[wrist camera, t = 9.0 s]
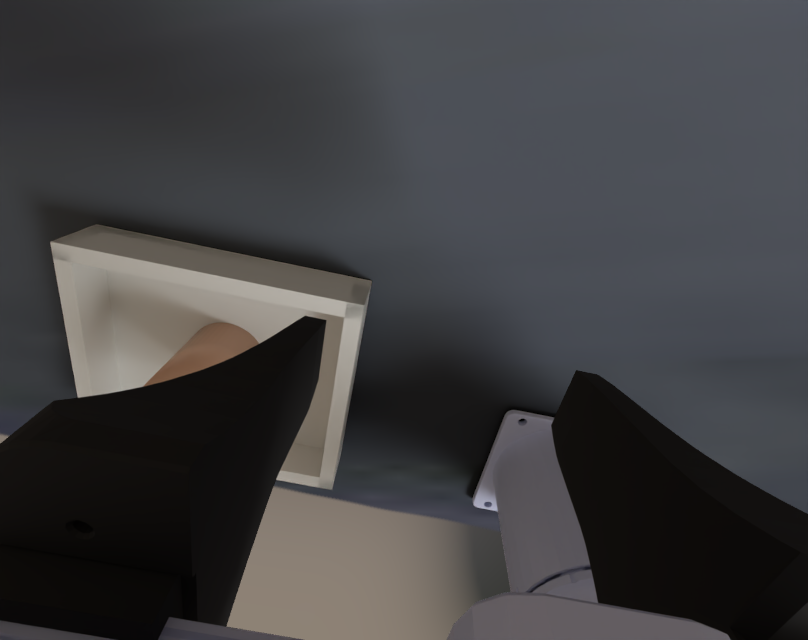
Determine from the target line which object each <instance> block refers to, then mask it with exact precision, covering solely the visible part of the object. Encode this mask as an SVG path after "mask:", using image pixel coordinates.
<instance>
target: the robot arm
mask: <svg viewBox="0 0 808 640" xmlns="http://www.w3.org/2000/svg"><path fill="white" fill-rule="evenodd" d="M326 321H327V320H324V319H319V318H314V317H309V316H304V317H302V318H300V319H299V320H297V321H295V322H294V323H292V324H291V325H289V326H288V327H286V328H284V329H283V330H281V331H280V332H278V333H277V334H275V335H273V336H272V337H270V338H268V339H267V340H265V341H263V342H262V343H260V344H258V345H256V346H254V347H252V348H250V349H248V350H246V351H244V352H242V353H240V354H239V355H237V356H234V357H232V358H230V359H228V360H225V361H223V362H221V363H218V364H216V365H213V366H210V367H208V368H205V369H203V370H200V371H197V372H193V373H190V374H187V375H184V376H180V377H177V378H174V379H171V380H167V381H164V382H160V383H156V384H152V385H148V386H143V387H139V388H134V389H129V390H124V391H119V392H113V393H108V394H101V395H94V396H87V397H80V398H73V399H65V400H56V401H53V402H52V403H51V404H49V405H48V406H47V407H45V408H44V409H43V410H42V411H40V412H39V413H38V414H37V415H35V416H34V417H33V418H32V419H30V420H29V421H28V422H27V423H25V424H24V425H23V426H22V427H20V428H19V429H18V430H17V431H15V432H14V433H13V434H12V435H10V436H9V437H8V438H7V439H6V440H5V441H3V442H2V443H1V444H0V640H302V639H296V638H290V637H284V636H279V635H273V634H267V633H261V632H255V631H249V630H243V629H237V628H231V627H226V626H227V622H228V619H229V616H230V613H231V610H232V606H233V603H234V600H235V597H236V594H237V591H238V588H239V585H240V582H241V579H242V576H243V573H244V570H245V567H246V563H247V560H248V558H249V555H250V552H251V548H252V546H253V543H254V540H255V537H256V534H257V531H258V528H259V525H260V522H261V519H262V517H263V514H264V511H265V508H266V505H267V502H268V499H269V497H270V494H271V491H272V488H273V486H274V484H275V481H276V479H277V476H278V474H279V472H280V470H281V468H282V465H283V463H284V461H285V459H286V457H287V455H288V453H289V451H290V449H291V447H292V444H293V442H294V440H295V438H296V436H297V434H298V432H299V430H300V428H301V426H302V423H303V421H304V419H305V417H306V415H307V413H308V410H309V408H310V405H311V402H312V399H313V396H314V393H315V390H316V386H317V383H318V380H319V373H320V365H321V358H322V350H323V343H324V336H325V328H326ZM520 419H525V420H524V421H519V420H520ZM472 500H473V504H474V506H476V507H478V508H483V509H488V510H494V511H498V516H499V522H500V528H501V534H502V540H503V547H504V553H505V559H506V565H507V570H508V577H509V583H510V589H511V592H505V593H502V594H499V595H496V596H493V597H490V598H487V599H484V600H481V601H477V602H476V603H475V604H473V606H472V607H471V608H470V609H468V610H467V612H465V613H464V614H463V616H461V617H460V618H459V619H458V621H457V622H456V623H454V625H453V627H452V629H451V631H450V634H449V636H448V638H447V640H808V514H807V513H805V512H803V511H801V510H799V509H797V508H795V507H793V506H791V505H789V504H787V503H785V502H783V501H781V500H780V499H778V498H776V497H774V496H772V495H771V494H769V493H767V492H765V491H763V490H762V489H760V488H758V487H756V486H754V485H753V484H751V483H749V482H747V481H746V480H744V479H742V478H741V477H739V476H737V475H736V474H734V473H732V472H731V471H729V470H728V469H726V468H725V467H723V466H721V465H720V464H718V463H717V462H715V461H714V460H712V459H711V458H709V457H707V456H706V455H704V454H703V453H702V452H700V451H699V450H697V449H696V448H694V447H693V446H691V445H690V444H689V443H687V442H686V441H685V440H683V439H682V438H680V437H679V436H678V435H676V434H675V433H674V432H672V431H671V430H670V429H668V428H667V427H666V426H664V425H663V424H662V423H660V422H659V421H658V420H657V419H655V418H654V417H653V416H651V415H650V414H649V413H648V412H646V411H645V410H644V409H643V408H641V407H640V406H639V405H638V404H636V403H635V402H634V401H633V400H631V399H630V398H629V397H628V396H626V395H625V394H624V393H622V392H621V391H620V390H619V389H617V388H616V387H615V386H613V385H612V384H611V383H609V382H608V381H606V380H605V379H604V378H602V377H600V376H599V375H597V374H592V373H587V372H582V371H577V370H576V372H575V374H574V376H573V378H572V381H571V383H570V385H569V387H568V389H567V392H566V394H565V396H564V398H563V400H562V402H561V405H560V407H559V409H558V411H557V413H556V416H555V418H554V417H549V416H544V415H539V414H534V413H529V412H523V411H518V410H510V411H508V412H507V413H506V414H505V416H504V418H503V421H502V423H501V426H500V429H499V431H498V434H497V436H496V439H495V441H494V444H493V446H492V449H491V452H490V454H489V457H488V459H487V462H486V464H485V467H484V470H483V472H482V475H481V477H480V480H479V482H478V485H477V487H476V490H475V493H474V495H473V499H472Z"/></svg>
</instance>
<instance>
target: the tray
mask: <svg viewBox="0 0 808 640" xmlns="http://www.w3.org/2000/svg"><path fill="white" fill-rule="evenodd" d="M50 244H51V250H52V255H53V261H54V267H55V272H56V278H57V283H58V289H59V295H60V300H61V306H62V311H63V317H64V323H65V328H66V334H67V340H68V345H69V351H70V356H71V362H72V368H73V373H74V379H75V384H76V390H77V396H78V398H80V397H87V396H94V395H101V394H108V393H113V392H119V391H124V390H129V389H134V388H139V387H143V386H144V385H145V384H146V383H147V382H148V381H149V380H150V379H151V378H152V377H153V376H154V375H155V374H156V373H157V372H158V371H159V370H160V369H161V368H162V367H163V366H164V365H165V364H166V363H167V362H168V361H169V360H170V359H171V358H172V357H173V356H174V355H175V354H176V353H177V352H178V351H179V350H180V349H181V348H182V347H183V346H184V344H185V343H186V342H187V341H188V340H189V339H190V338H191V337H192V336H193V335H194V334H195V333H196V332H197V331H198V330H200V329H201V328H202V327H204V326H206V325H208V324H212V323H218V322H223V323H230V324H233V325H236V326H239V327H241V328H243V329H244V330H246V331H247V332H249V333H250V334H251V335H252V336H253V337H254V338H255V339H256V340H257V341H258V343H259V344H260V343H262V342H263V341H265V340H267V339H268V338H270V337H272V336H273V335H275V334H277V333H278V332H280V331H281V330H283V329H284V328H286V327H288V326H289V325H291V324H292V323H294V322H295V321H297V320H299V319H300V318H302V317H304V316H309V317H314V318H319V319H324V320H327V321H326V328H325V336H324V343H323V350H322V358H321V365H320V373H319V380H318V383H317V386H316V390H315V393H314V396H313V399H312V402H311V405H310V408H309V410H308V413H307V415H306V417H305V419H304V421H303V423H302V426H301V428H300V430H299V432H298V434H297V436H296V438H295V440H294V442H293V444H292V447H291V449H290V451H289V453H288V455H287V457H286V459H285V461H284V463H283V465H282V468H281V470H280V472H279V474H278V476H277V479H276V480H281V481H286V482H292V483H297V484H303V485H308V486H313V487H319V488H324V489H330V490H332V487H333V483H334V479H335V475H336V471H337V467H338V463H339V459H340V455H341V451H342V445H343V440H344V434H345V429H346V423H347V418H348V412H349V406H350V401H351V395H352V390H353V384H354V379H355V373H356V367H357V362H358V356H359V351H360V345H361V340H362V334H363V329H364V323H365V317H366V312H367V306H368V301H369V295H370V290H371V284H372V281H370V280H365V279H360V278H356V277H351V276H346V275H341V274H336V273H331V272H327V271H322V270H317V269H312V268H307V267H302V266H297V265H293V264H288V263H283V262H278V261H273V260H268V259H263V258H259V257H254V256H249V255H244V254H239V253H234V252H230V251H225V250H220V249H215V248H210V247H205V246H200V245H196V244H191V243H186V242H181V241H176V240H171V239H166V238H162V237H157V236H152V235H147V234H142V233H137V232H133V231H128V230H123V229H118V228H113V227H108V226H103V225H99V224H95V225H93V226H90V227H87V228H85V229H82V230H79V231H77V232H74V233H72V234H69V235H66V236H64V237H61V238H58V239H56V240H53V241H51V242H50Z"/></svg>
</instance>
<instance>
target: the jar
mask: <svg viewBox="0 0 808 640" xmlns="http://www.w3.org/2000/svg"><path fill="white" fill-rule="evenodd" d="M258 344H259V343H258V341H257V340H256V339H255V338H254V337H253V336H252V335H251V334H250V333H249V332H247V331H246V330H244V329H243V328H241V327H239V326H236V325H233V324H230V323H223V322H218V323H212V324H208V325H206V326H204V327H202V328H201V329H200V330H198V331H197V332H196V333H195V334H194V335H193V336H192V337H191V338H190V339H189V340H188V341H187V342H186V343H185V344H184V346H183V347H182V348H181V349H180V350H179V351H178V352H177V353H176V354H175V355H174V356H173V357H172V358H171V359H170V360H169V361H168V362H167V363H166V364H165V365H164V366H163V367H162V368H161V369H160V370H159V371H158V372H157V373H156V374H155V375H154V376H153V377H152V378H151V379H150V380H149V381H148V382H147V383H146V384H145V385H144V386H148V385H152V384H156V383H160V382H164V381H167V380H171V379H174V378H177V377H180V376H184V375H187V374H190V373H193V372H197V371H200V370H203V369H205V368H208V367H210V366H213V365H216V364H218V363H221V362H223V361H225V360H228V359H230V358H232V357H234V356H237V355H239V354H240V353H242V352H244V351H246V350H248V349H250V348H252V347H254V346H256V345H258Z"/></svg>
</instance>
